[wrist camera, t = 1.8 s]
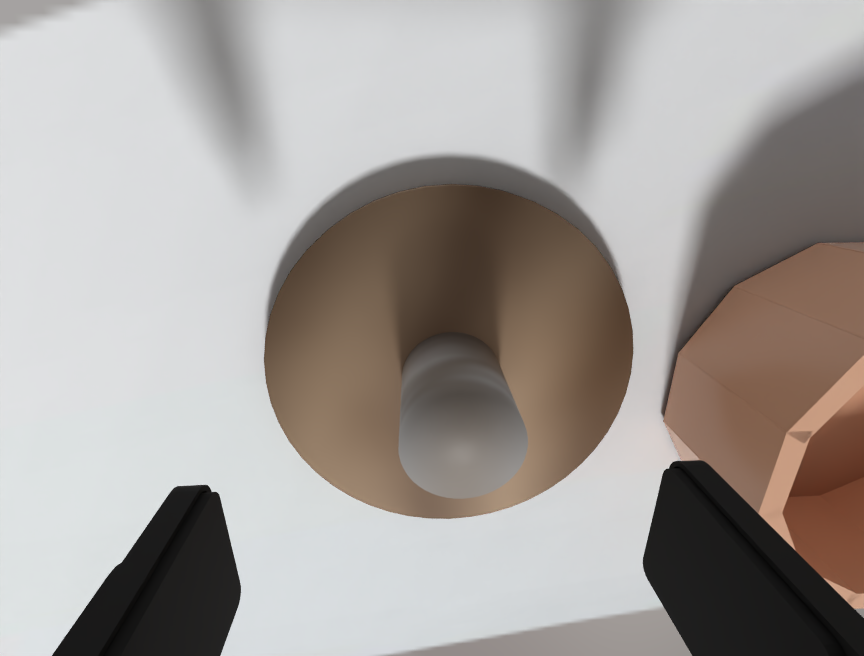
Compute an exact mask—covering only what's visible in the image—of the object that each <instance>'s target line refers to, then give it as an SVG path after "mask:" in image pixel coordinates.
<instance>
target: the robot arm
mask: <svg viewBox="0 0 864 656" xmlns="http://www.w3.org/2000/svg"><path fill="white" fill-rule="evenodd" d="M643 567H644V572H645V574H646V577H647V579H648V581H649V582H650V584H651V586H652V587H653V589H654V591H655V593H656V594H657V596H658V598H659V599H660V601H661V603H662V605H663V606H664V608H665V610H666V611H667V613H668V615H669V616H670V618H671V620H672V622H673V623H674V625H675V626H676V628H677V630H678V632H679V634H680V635H681V637H682V639H683V640H684V642H685V644H686V646H687V647H688V649H689V651H690V652H691V654H692V656H864V618H863V617H862V616H861V615H860V614H859V613H857V611H856V610H854V608H853V607H852V606H851V605H850V604H849V603H848V602H847V601H846V600H845V599H844V598H843V597H842V596H841V595H840V594H839V593H838V592H837V591H836V590H835V589H834V588H833V587H832V586H831V585H830V584H829V583H828V582H827V581H826V580H825V579H824V578H823V577H822V576H821V575H820V574H819V573H818V572H817V571H816V570H815V569H814V568H813V567H811V566H810V565H809V564H808V563H807V562H806V561H805V560H804V559H803V558H802V557H801V556H800V555H799V554H798V553H797V552H796V551H795V550H794V549H793V548H792V547H791V546H790V545H789V544H788V543H787V542H786V541H785V540H784V539H783V538H782V537H781V536H780V535H779V534H778V533H777V532H776V531H775V530H774V529H773V528H772V527H771V526H770V525H769V524H768V523H767V522H766V521H765V520H764V519H763V518H762V517H761V516H760V515H759V514H758V513H757V512H756V511H755V510H754V509H753V508H752V507H751V506H750V505H749V504H748V503H747V502H746V501H745V500H744V499H743V498H742V497H741V496H740V495H739V494H738V493H737V492H736V491H735V490H734V489H733V488H732V487H731V486H730V485H729V484H728V483H727V482H726V481H725V480H724V479H723V478H722V477H721V476H720V475H719V474H718V473H717V472H716V471H715V470H714V469H713V468H712V467H711V466H710V465H709V464H708V463H706V462H705V461H702V460H691V461H675V462H673V463H672V464H671V465H670V467H669V469H666V470H665V471H664V473H663V476H662V480H661V484H660V489H659V493H658V497H657V501H656V506H655V510H654V514H653V519H652V523H651V527H650V531H649V536H648V540H647V544H646V548H645V553H644V557H643ZM240 595H241V585H240V580H239V576H238V572H237V568H236V563H235V559H234V555H233V551H232V547H231V542H230V538H229V534H228V530H227V525H226V521H225V517H224V513H223V508H222V504H221V500H220V496H219V494H218V493H217V492H211V489H210V487H209V486H208V485H195V486H177V487H175V488H174V489H173V490H172V491H171V492H170V494H169V495H168V496H167V498H166V499H165V501H164V502H163V504H162V505H161V507H160V508H159V510H158V511H157V512H156V514H155V515H154V517H153V518H152V520H151V521H150V523H149V524H148V525H147V527H146V528H145V530H144V531H143V533H142V534H141V536H140V537H139V538H138V540H137V541H136V543H135V544H134V546H133V547H132V549H131V550H130V551H129V553H128V554H127V556H126V557H125V559H124V560H123V562H122V563H120V564H119V565H117V566H116V567H115V568H114V569H113V570H112V572H111V573H110V574H109V575H108V577H107V578H106V579H105V581H104V582H103V584H102V585H101V587H100V588H99V589H98V591H97V592H96V594H95V595H94V596H93V598H92V599H91V601H90V602H89V604H88V605H87V606H86V608H85V609H84V611H83V612H82V614H81V615H80V616H79V618H78V619H77V621H76V622H75V624H74V625H73V626H72V628H71V629H70V631H69V632H68V634H67V635H66V636H65V638H64V639H63V641H62V642H61V643H60V645H59V646H58V648H57V649H56V651H55V652H54V653H53V655H52V656H220V655H221V652H222V649H223V646H224V644H225V641H226V638H227V635H228V633H229V630H230V627H231V624H232V622H233V619H234V616H235V613H236V611H237V608H238V605H239V601H240Z"/></svg>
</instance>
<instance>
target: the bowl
mask: <svg viewBox="0 0 864 656" xmlns="http://www.w3.org/2000/svg"><path fill="white" fill-rule="evenodd" d="M663 422H664V423H665V425H666V428H667V430H668V432H669V434H670V437H671V439H672V441H673V443H674V445H675V448H676V450H677V452H678V454H679V456H680V459H681V461H691V460H702V461H705V462H706V463H708V464H709V465H710V466H711V467H712V468H713V469H714V470H715V471H716V472H717V473H718V474H719V475H720V476H721V477H722V478H723V479H724V480H725V481H726V482H727V483H728V484H729V485H730V486H731V487H732V488H733V489H734V490H735V491H736V492H737V493H738V494H739V495H740V496H741V497H742V498H743V499H744V500H745V501H746V502H747V503H748V504H749V505H750V506H751V507H752V508H753V509H754V510H755V511H756V512H757V513H758V514H759V515H760V516H761V517H762V518H763V519H764V520H765V521H766V522H767V523H768V524H769V525H770V526H771V527H772V528H773V529H774V530H775V531H776V532H777V533H778V534H779V535H780V536H781V537H782V538H783V539H784V540H785V541H786V542H787V543H788V544H789V545H790V546H791V547H792V548H793V549H794V550H795V551H796V552H797V553H798V554H799V555H800V556H801V557H802V558H803V559H804V560H805V561H806V562H807V563H808V564H809V565H810V566H811V567H813V568H814V569H815V570H816V571H817V572H818V573H819V574H820V575H821V576H822V577H823V578H824V579H825V580H826V581H827V582H828V583H829V584H830V585H831V586H832V587H833V588H834V589H835V590H836V591H837V592H838V593H839V594H840V595H841V596H842V597H843V598H844V599H845V600H846V601H847V602H848V603H849V604H850V605H851V606H852V607H853V608H854V609H858V608H864V242H844V243H817V244H815V245H813V246H811V247H809V248H807V249H805V250H803V251H801V252H799V253H797V254H796V255H794V256H792V257H790V258H788V259H786V260H784V261H782V262H780V263H778V264H776V265H774V266H772V267H770V268H768V269H766V270H764V271H762V272H761V273H759V274H757V275H755V276H753V277H751V278H749V279H747V280H745V281H743V282H741V283H739V284H737V285H735V286H734V287H733V288H732V289H731V291H730V292H729V293H728V294H727V295H726V297H725V298H724V299H723V300H722V301H721V303H720V304H719V305H718V306H717V307H716V309H715V310H714V311H713V312H712V313H711V315H710V316H709V317H708V318H707V319H706V321H705V322H704V323H703V324H702V325H701V327H700V328H699V329H698V330H697V331H696V333H695V334H694V335H693V336H692V337H691V339H690V340H689V341H688V342H687V343H686V345H685V346H684V347H683V348H682V349H681V351H680V352H679V353H678V357H677V362H676V366H675V371H674V375H673V380H672V384H671V389H670V393H669V398H668V402H667V407H666V411H665V416H664V420H663Z"/></svg>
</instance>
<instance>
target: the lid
mask: <svg viewBox="0 0 864 656" xmlns="http://www.w3.org/2000/svg"><path fill="white" fill-rule="evenodd" d="M632 359H633V331H632V325H631V319H630V314H629V309H628V306H627V303H626V300H625V297H624V294H623V291H622V288H621V286H620V284H619V282H618V280H617V278H616V276H615V274H614V273H613V271H612V269H611V267H610V265H609V264H608V263H607V261H606V260H605V259H604V257H603V256H602V254H601V253H600V252H599V250H598V249H597V248H596V246H595V245H594V244H593V243H592V242H591V241H590V240H589V239H587V238H586V237H585V236H584V235H583V234H582V233H581V232H580V231H579V230H578V229H577V228H576V227H574V226H573V225H572V224H570V223H569V222H568V221H566V220H565V219H564V218H562V217H561V216H559V215H558V214H556V213H555V212H553V211H551V210H549V209H547V208H545V207H543V206H541V205H539V204H537V203H536V202H533V201H531V200H528V199H525V198H522V197H519V196H517V195H514V194H511V193H508V192H505V191H502V190H497V189H492V188H487V187H482V186H476V185H460V184H445V185H432V186H423V187H418V188H413V189H409V190H404V191H400V192H396V193H394V194H391V195H388V196H386V197H383V198H380V199H377V200H375V201H373V202H371V203H369V204H367V205H365V206H363V207H361V208H359V209H358V210H356V211H354V212H352V213H350V214H349V215H347V216H346V217H345V218H343V219H342V220H341V221H339V222H338V223H337V224H335V225H334V226H332V227H331V228H330V229H328V230H327V231H326V232H325V233H324V234H323V235H322V236H321V237H320V238H319V239H318V240H317V241H316V242H315V243H314V244H313V245H312V246H311V247H310V248H308V249H307V250H306V252H305V253H304V254H303V256H302V257H301V258H300V260H299V261H298V262H297V263H296V265H295V266H294V267H293V269H292V270H291V271H290V273H289V275H288V277H287V279H286V280H285V282H284V284H283V286H282V288H281V289H280V291H279V293H278V296H277V298H276V301H275V304H274V306H273V309H272V312H271V314H270V319H269V323H268V328H267V333H266V337H265V353H264V365H265V376H266V384H267V388H268V393H269V397H270V401H271V404H272V407H273V409H274V412H275V414H276V417H277V419H278V422H279V424H280V426H281V428H282V429H283V431H284V433H285V435H286V436H287V438H288V440H289V441H290V443H291V444H292V445H293V447H294V448H295V449H296V451H297V452H298V453H299V455H300V456H301V457H302V458H303V459H304V460H305V461H306V462H307V463H308V464H309V465H310V467H311V468H312V469H313V470H314V471H315V472H316V473H318V474H319V475H320V476H321V477H323V478H324V479H325V480H327V481H328V482H329V483H330V484H332V485H333V486H335V487H336V488H338V489H339V490H341V491H343V492H344V493H346V494H348V495H349V496H351V497H353V498H355V499H357V500H360V501H362V502H364V503H366V504H368V505H371V506H374V507H377V508H380V509H383V510H386V511H389V512H393V513H398V514H402V515H407V516H414V517H422V518H443V519H451V518H462V517H472V516H477V515H482V514H488V513H492V512H495V511H499V510H502V509H506V508H509V507H512V506H514V505H517V504H519V503H522V502H524V501H526V500H529V499H531V498H533V497H535V496H537V495H538V494H540V493H542V492H544V491H546V490H548V489H549V488H551V487H552V486H554V485H555V484H557V483H558V482H559V481H561V480H562V479H564V478H565V477H566V476H568V475H569V474H570V473H571V472H572V471H573V470H575V469H576V468H577V467H578V466H579V465H580V464H581V463H582V462H583V461H584V460H585V459H586V458H587V457H588V456H589V455H590V454H591V453H592V452H593V451H594V450H595V448H596V447H597V446H598V444H599V443H600V442H601V440H602V439H603V437H604V436H605V435H606V433H607V432H608V430H609V428H610V427H611V425H612V423H613V421H614V419H615V418H616V416H617V414H618V412H619V409H620V407H621V404H622V402H623V399H624V397H625V394H626V391H627V387H628V383H629V379H630V375H631V368H632Z"/></svg>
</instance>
